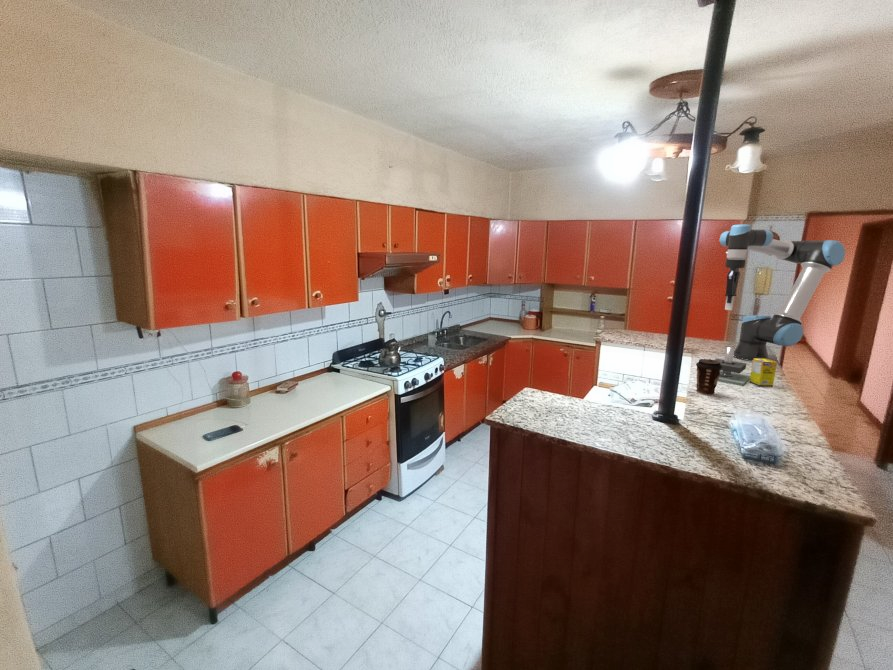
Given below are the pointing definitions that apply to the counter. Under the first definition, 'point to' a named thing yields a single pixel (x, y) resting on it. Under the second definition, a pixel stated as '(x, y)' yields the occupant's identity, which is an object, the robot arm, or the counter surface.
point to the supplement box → (763, 372)
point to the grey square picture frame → (732, 366)
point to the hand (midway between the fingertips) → (728, 309)
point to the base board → (734, 379)
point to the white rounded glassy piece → (728, 360)
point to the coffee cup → (707, 376)
